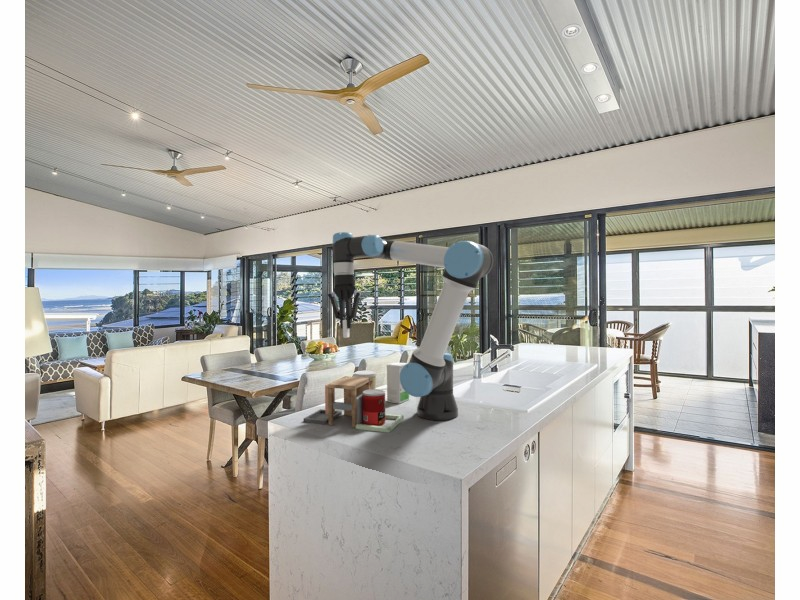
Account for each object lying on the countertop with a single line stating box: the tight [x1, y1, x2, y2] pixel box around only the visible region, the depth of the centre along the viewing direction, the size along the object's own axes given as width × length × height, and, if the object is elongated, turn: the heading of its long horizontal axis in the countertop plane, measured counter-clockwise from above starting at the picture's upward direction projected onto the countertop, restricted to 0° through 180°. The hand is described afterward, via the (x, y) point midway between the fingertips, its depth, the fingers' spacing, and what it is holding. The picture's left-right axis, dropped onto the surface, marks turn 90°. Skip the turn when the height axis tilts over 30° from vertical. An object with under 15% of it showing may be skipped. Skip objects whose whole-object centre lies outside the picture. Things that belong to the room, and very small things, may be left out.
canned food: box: [362, 388, 386, 426], centre depth 145 cm, size 8×8×11 cm
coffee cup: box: [353, 369, 377, 389], centre depth 174 cm, size 9×9×12 cm
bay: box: [355, 413, 405, 433], centre depth 145 cm, size 12×15×1 cm
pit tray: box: [303, 409, 343, 425], centre depth 151 cm, size 9×12×1 cm
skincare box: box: [386, 361, 410, 404], centre depth 174 cm, size 8×7×16 cm
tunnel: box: [327, 375, 370, 429], centre depth 148 cm, size 10×13×14 cm
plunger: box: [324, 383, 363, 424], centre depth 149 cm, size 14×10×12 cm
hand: (346, 337), depth 157 cm, fingers closed
